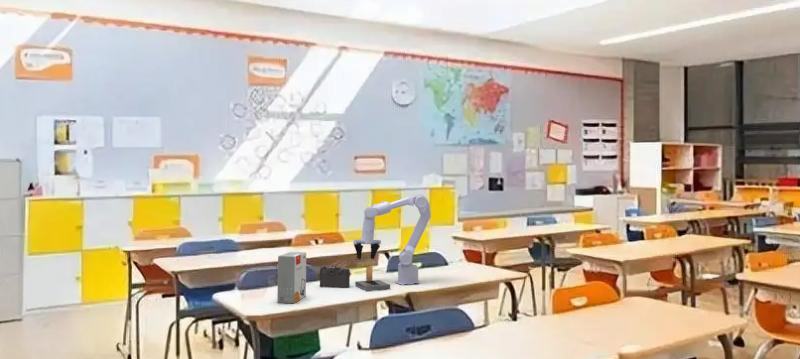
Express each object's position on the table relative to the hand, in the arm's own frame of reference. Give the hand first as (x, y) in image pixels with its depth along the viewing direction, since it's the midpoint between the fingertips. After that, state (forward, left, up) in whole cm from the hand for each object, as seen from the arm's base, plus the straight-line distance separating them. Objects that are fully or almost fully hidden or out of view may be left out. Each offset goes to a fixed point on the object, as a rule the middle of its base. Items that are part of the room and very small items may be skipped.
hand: (365, 258), depth 335 cm
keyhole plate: (+1, +11, -12) cm, 17 cm away
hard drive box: (+43, +22, -12) cm, 50 cm away
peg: (-2, 0, -12) cm, 12 cm away
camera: (+15, 0, -12) cm, 20 cm away
